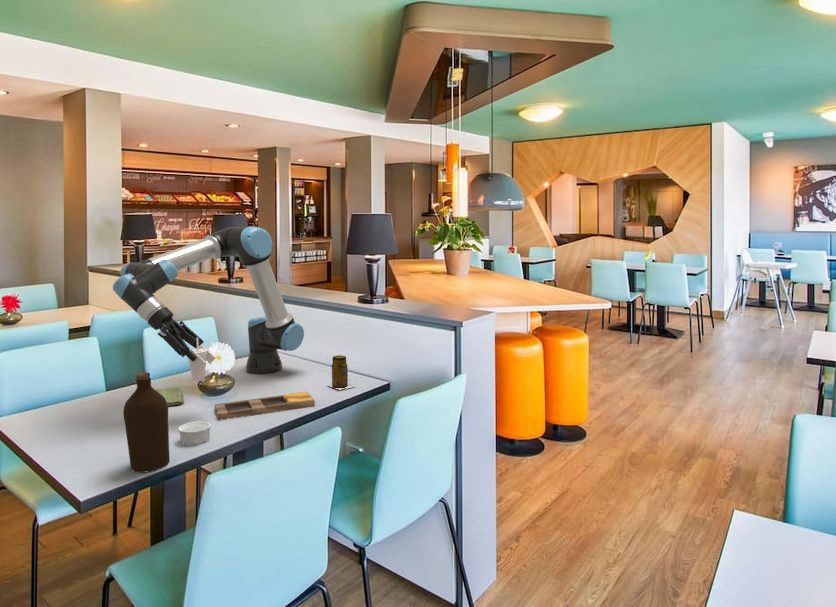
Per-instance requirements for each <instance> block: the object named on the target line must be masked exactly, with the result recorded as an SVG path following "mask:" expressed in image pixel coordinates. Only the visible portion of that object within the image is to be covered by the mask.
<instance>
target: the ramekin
mask: <svg viewBox="0 0 836 607" xmlns="http://www.w3.org/2000/svg"><path fill="white" fill-rule="evenodd" d="M177 430H178V433H179V438H180V443H182V444H183V443H184V444H183V445H186V444H196V445H198V444H197V443H201V442H204V441H206V440H207V441H209V439H210V436H211V433H210V432H211V423H209V422H208V421H207V422H206V421H191V422H187V423H184V424H181V425H180V426H179V427H178V429H177ZM207 441H206V442H207ZM204 443H205V442H204ZM201 444H202V443H201Z"/></svg>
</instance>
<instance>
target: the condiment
mask: <svg viewBox="0 0 836 607" xmlns="http://www.w3.org/2000/svg"><path fill="white" fill-rule="evenodd" d="M348 369H349V368H348V363H347V356H345V355H342V354H341V355H339V354H338V355H334V356H333V357H332V364H331V385H332V387H333V388H332V389H334V390H336V391H341V390H339V389H335V388H345V387H347V386H348V385H349V384H348V382H349V379H348V376H349V375H348V374H349V373H348Z"/></svg>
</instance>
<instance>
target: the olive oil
mask: <svg viewBox="0 0 836 607" xmlns="http://www.w3.org/2000/svg"><path fill="white" fill-rule="evenodd" d="M150 376H151V373H150V372H147V371H146V372H145V371H143V372H139V373H136V380H135V381H136V389H135V390H134V392H132V394H131V395H130V396H129V397H128V398H127V400H126V401H125V404H124V406H123V412H122V414H123V421H124V426H125V434H126V440H127V441H126V442H127V448H128V458H129V465H130V469H131V470H132V471H133V470H134V471H133V472H136V471H137V473H146V472H145V471H149V472H153V471H152V470H154V471H156V469H158V470H160V469H162V467H163V468H165V467H167V465H169V463H170V442H169V441H170V440H169V439H170V436H169V435H170V434H169V426H170V425H169V406H168V404H167V402H166V399H165V398H164V397H163V396H162V395H161V394H160V393H158V392H157V391H156V390H155V389H156V388H154V387H152V378H151V377H150ZM164 466H165V467H164ZM159 468H160V469H159Z"/></svg>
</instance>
